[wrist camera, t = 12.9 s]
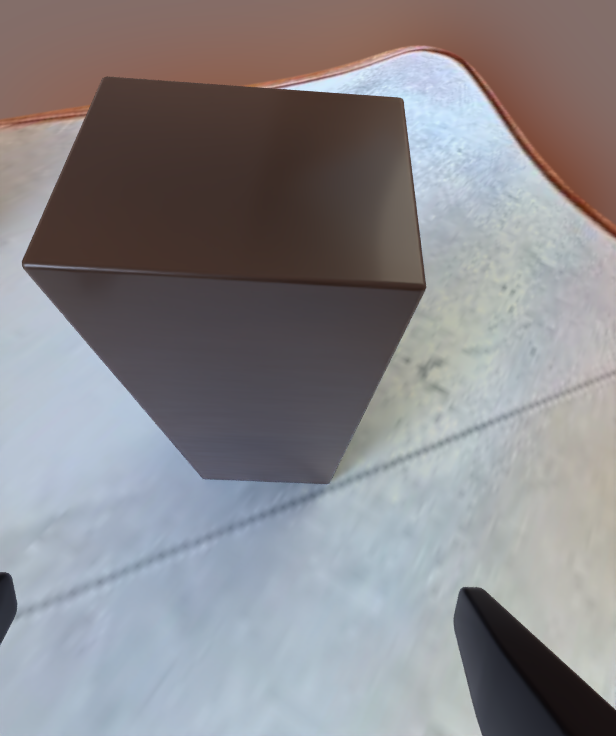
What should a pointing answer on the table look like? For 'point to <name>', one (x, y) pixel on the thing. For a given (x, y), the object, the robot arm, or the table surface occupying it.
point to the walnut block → (238, 264)
